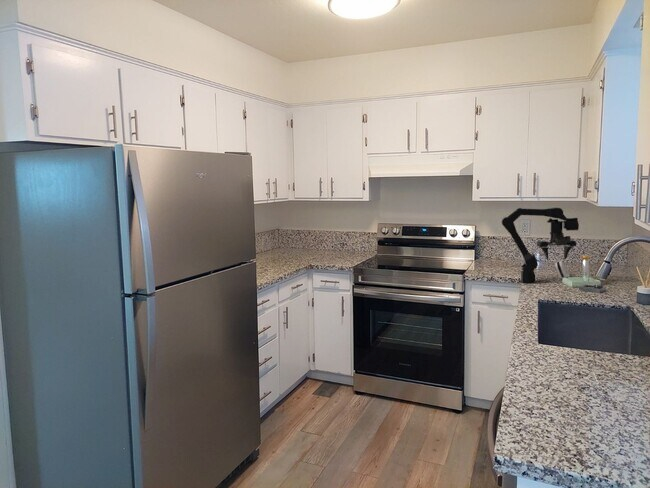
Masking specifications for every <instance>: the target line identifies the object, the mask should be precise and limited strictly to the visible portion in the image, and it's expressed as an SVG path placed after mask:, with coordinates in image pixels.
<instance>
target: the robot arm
mask: <svg viewBox="0 0 650 488" xmlns="http://www.w3.org/2000/svg"><path fill="white" fill-rule="evenodd" d="M521 216H539V217H540V216H541V217H547V218H548V219H547V220H546V223H550V232H549V235H550V239H549V241H547V240H537V242H536V246H537V247H539V248H540V249H541V250H542V252H543V253H544V256H545V259H546V260H547V261H548V260H549V246H558V247H559V246H563V258H564V260H566V259H567V257H568V255H569V253H570V251H571V249H573V248H575V247H577V244H578V243H577V241H576V240H574V239H573V240H572V239H571V236H570V235H565V236H564V232H563V229H564V230H565V231H579V228H580V227H579V226H580V225H579V220H578V217H567V216H565V214H564V210H563V209H562V208H561V207H549V208H548V207H547V208H521V207H518V208H516V209H515V210H514V211H513V212H512V213H510V214H509V215H508V216H504V217H503V218H502V219H501V225H502V226H503V227H504V228H505V230H506V231H507V232H508V234H509V235H510V236H511V238H512V239H513V241H514V243H515V245H516V246H517V248H518V251H520V253H521V256H522V258H523V261H524V263H523V264H522V265H521V266H520V267H521V271H520V280H519V282H520V283H522V284H536V274H535V271H534V270H536V269H537V268H538V266H539V265H538V264H539V263H538V262H539V260H538V259H537V258H536V255H535V254H534V253H530V251H529V250H528V248H527V246H526V245H525V243H524V241H523V240H522V238H521V236H520V234H519V232H518V231H517V229H516V226H515V223H514V222H515V221H517V220H518V219H519V218H520V217H521ZM553 218H554V219H553Z"/></svg>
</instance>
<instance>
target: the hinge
mask: <svg viewBox="0 0 650 488" xmlns="http://www.w3.org/2000/svg"><path fill="white" fill-rule="evenodd" d="M554 266H555V269H556V272H557V275H558V278H559V279H563V278H571V275H570V272H569V271H568V270H567V269H566V267H565V264H564V262H563V260H559V261H556V262H555V263H554Z"/></svg>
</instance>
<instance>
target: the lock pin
mask: <svg viewBox="0 0 650 488" xmlns="http://www.w3.org/2000/svg"><path fill="white" fill-rule="evenodd" d="M590 257H591V256H590V255H580V258H581V260H582V261H581V265H582V266H581V267H582V268H581V269H582V273H581V275H582V276H581V277H582V280H583V281H589V277H590V263H589V262H590Z"/></svg>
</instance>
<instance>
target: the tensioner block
mask: <svg viewBox="0 0 650 488" xmlns="http://www.w3.org/2000/svg"><path fill="white" fill-rule="evenodd" d="M578 291H580V292H588V293H589V292H590V293H595V294H596V293H597V294H600V293H604V292H606V291H607V288H606V286H603V285H602V284H601V285H582V286H579V287H578Z"/></svg>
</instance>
